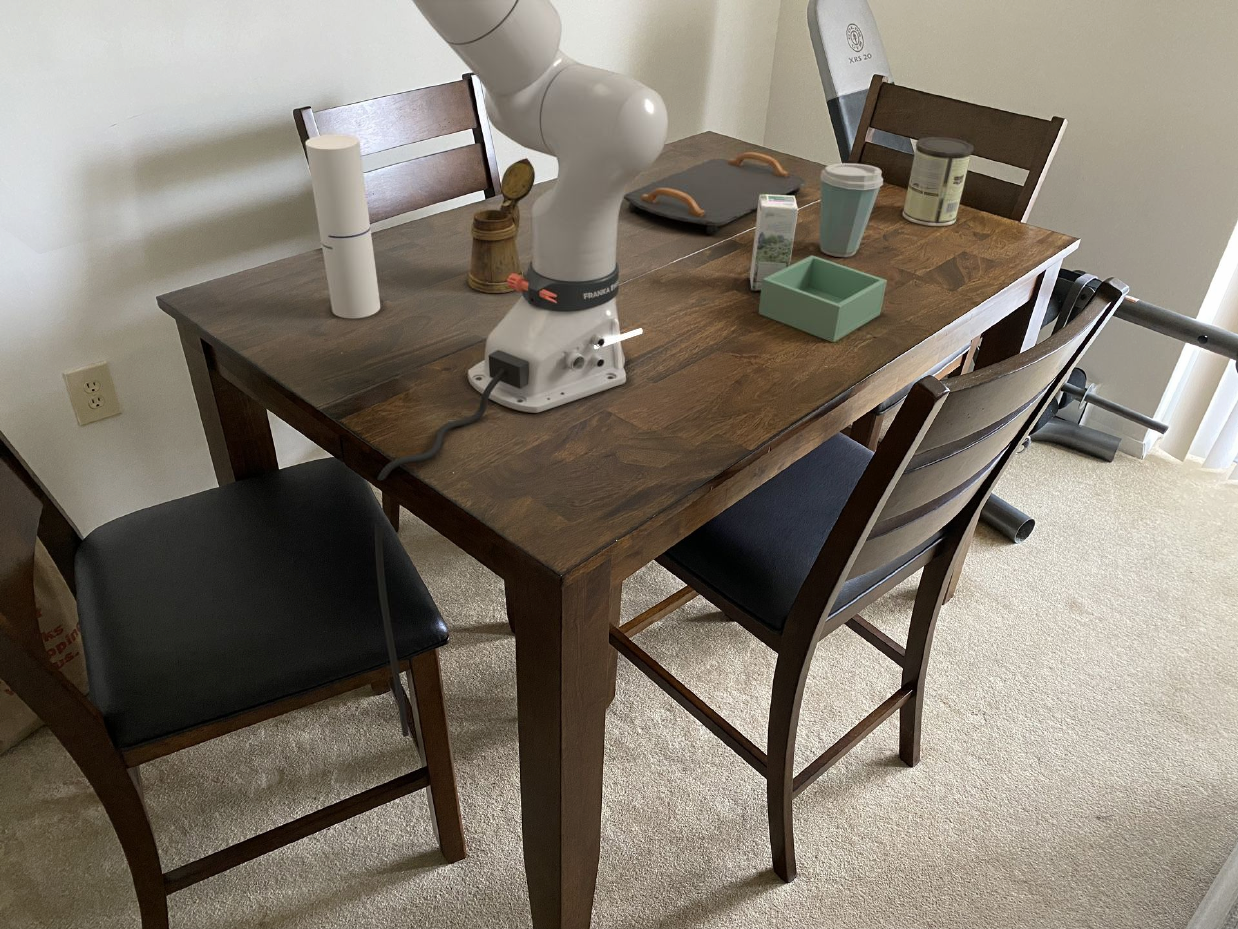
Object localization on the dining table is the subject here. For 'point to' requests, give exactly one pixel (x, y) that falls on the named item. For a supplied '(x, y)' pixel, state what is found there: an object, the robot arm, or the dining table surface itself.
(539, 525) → the dining table surface
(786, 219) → the syrup box
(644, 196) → the serving tray
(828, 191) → the disposable coffee cup
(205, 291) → the dining table surface
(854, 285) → the open storage box
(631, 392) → the dining table surface
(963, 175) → the coffee can
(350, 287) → the cylindrical container
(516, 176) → the wooden mug
